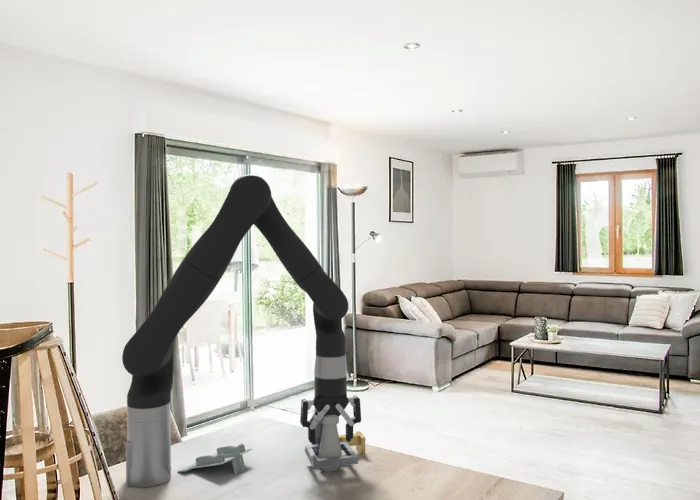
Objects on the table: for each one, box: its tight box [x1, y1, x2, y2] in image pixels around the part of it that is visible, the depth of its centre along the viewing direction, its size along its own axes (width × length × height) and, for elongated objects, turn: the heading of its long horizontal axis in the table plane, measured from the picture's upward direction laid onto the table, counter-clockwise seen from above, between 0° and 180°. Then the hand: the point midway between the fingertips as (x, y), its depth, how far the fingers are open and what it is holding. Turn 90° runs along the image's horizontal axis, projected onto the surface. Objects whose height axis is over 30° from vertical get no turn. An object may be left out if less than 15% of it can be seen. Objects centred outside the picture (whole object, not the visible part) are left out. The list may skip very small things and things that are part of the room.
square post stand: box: [304, 367, 366, 469], centre depth 141 cm, size 15×18×22 cm
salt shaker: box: [318, 415, 343, 472], centre depth 136 cm, size 6×6×13 cm
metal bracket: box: [176, 443, 253, 475], centre depth 138 cm, size 14×6×15 cm
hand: (330, 442), depth 136 cm, fingers open, 8 cm apart
